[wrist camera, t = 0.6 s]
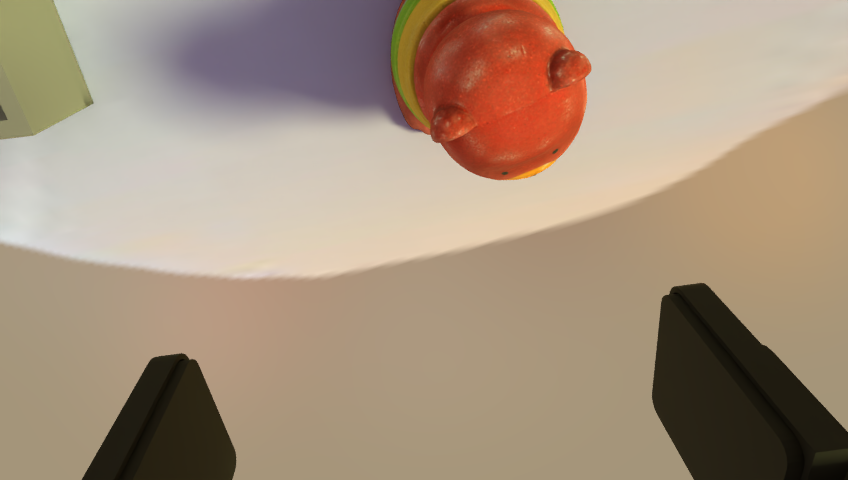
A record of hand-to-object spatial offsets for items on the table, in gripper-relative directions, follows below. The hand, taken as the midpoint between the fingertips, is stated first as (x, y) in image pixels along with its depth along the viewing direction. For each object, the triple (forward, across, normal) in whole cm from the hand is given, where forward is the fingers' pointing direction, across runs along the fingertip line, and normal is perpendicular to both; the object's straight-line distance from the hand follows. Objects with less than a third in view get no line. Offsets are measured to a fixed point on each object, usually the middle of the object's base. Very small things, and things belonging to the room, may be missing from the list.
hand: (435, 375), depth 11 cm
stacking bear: (+30, -4, -1) cm, 30 cm away
